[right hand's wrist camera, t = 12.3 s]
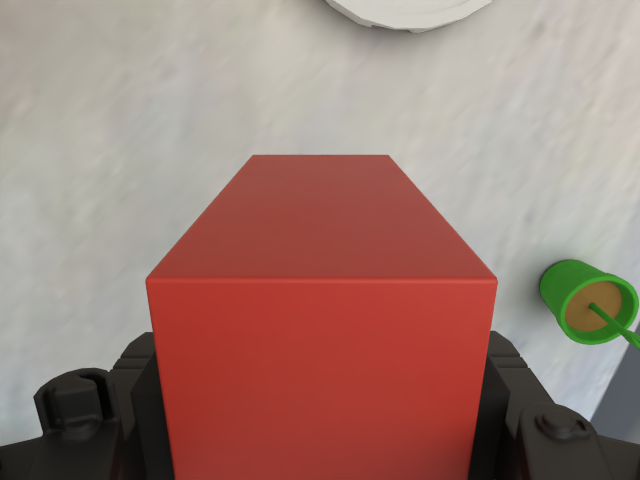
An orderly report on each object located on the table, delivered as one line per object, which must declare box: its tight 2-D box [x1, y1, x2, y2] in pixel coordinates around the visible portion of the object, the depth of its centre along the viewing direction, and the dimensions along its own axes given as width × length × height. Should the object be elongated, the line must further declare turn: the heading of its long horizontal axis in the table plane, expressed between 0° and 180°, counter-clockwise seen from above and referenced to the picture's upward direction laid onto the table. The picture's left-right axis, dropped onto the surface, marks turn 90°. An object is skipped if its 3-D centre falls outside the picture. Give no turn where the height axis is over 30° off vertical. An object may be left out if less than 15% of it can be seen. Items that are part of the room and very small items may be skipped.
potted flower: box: [540, 260, 640, 350], centre depth 39 cm, size 9×8×25 cm
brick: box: [145, 155, 498, 480], centre depth 14 cm, size 6×8×12 cm
